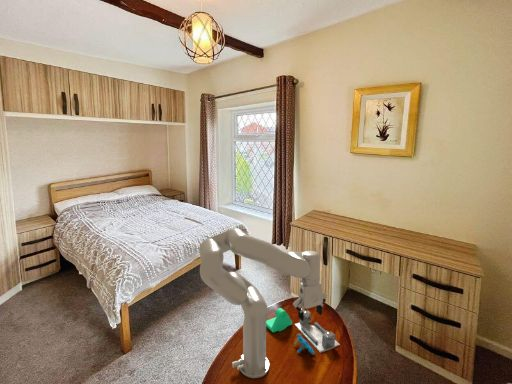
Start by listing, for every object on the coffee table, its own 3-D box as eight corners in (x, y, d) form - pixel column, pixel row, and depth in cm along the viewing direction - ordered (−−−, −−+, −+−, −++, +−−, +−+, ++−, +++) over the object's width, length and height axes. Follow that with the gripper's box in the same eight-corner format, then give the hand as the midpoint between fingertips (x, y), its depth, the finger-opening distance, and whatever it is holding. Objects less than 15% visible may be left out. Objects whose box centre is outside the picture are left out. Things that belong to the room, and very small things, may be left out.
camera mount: (282, 318, 142) (282, 300, 141) (291, 326, 136) (292, 307, 134) (264, 326, 136) (264, 307, 134) (273, 334, 129) (273, 315, 128)
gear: (319, 355, 114) (305, 343, 111) (310, 366, 113) (295, 354, 110) (307, 339, 124) (294, 327, 121) (298, 348, 124) (285, 337, 121)
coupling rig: (320, 352, 117) (320, 338, 116) (294, 325, 136) (294, 312, 135) (339, 345, 121) (340, 331, 120) (312, 320, 140) (312, 307, 139)
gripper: (298, 288, 107) (298, 326, 110) (332, 279, 114) (331, 316, 117) (288, 280, 114) (288, 316, 116) (321, 272, 121) (320, 307, 123)
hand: (310, 316), depth 116 cm, fingers open, 9 cm apart
